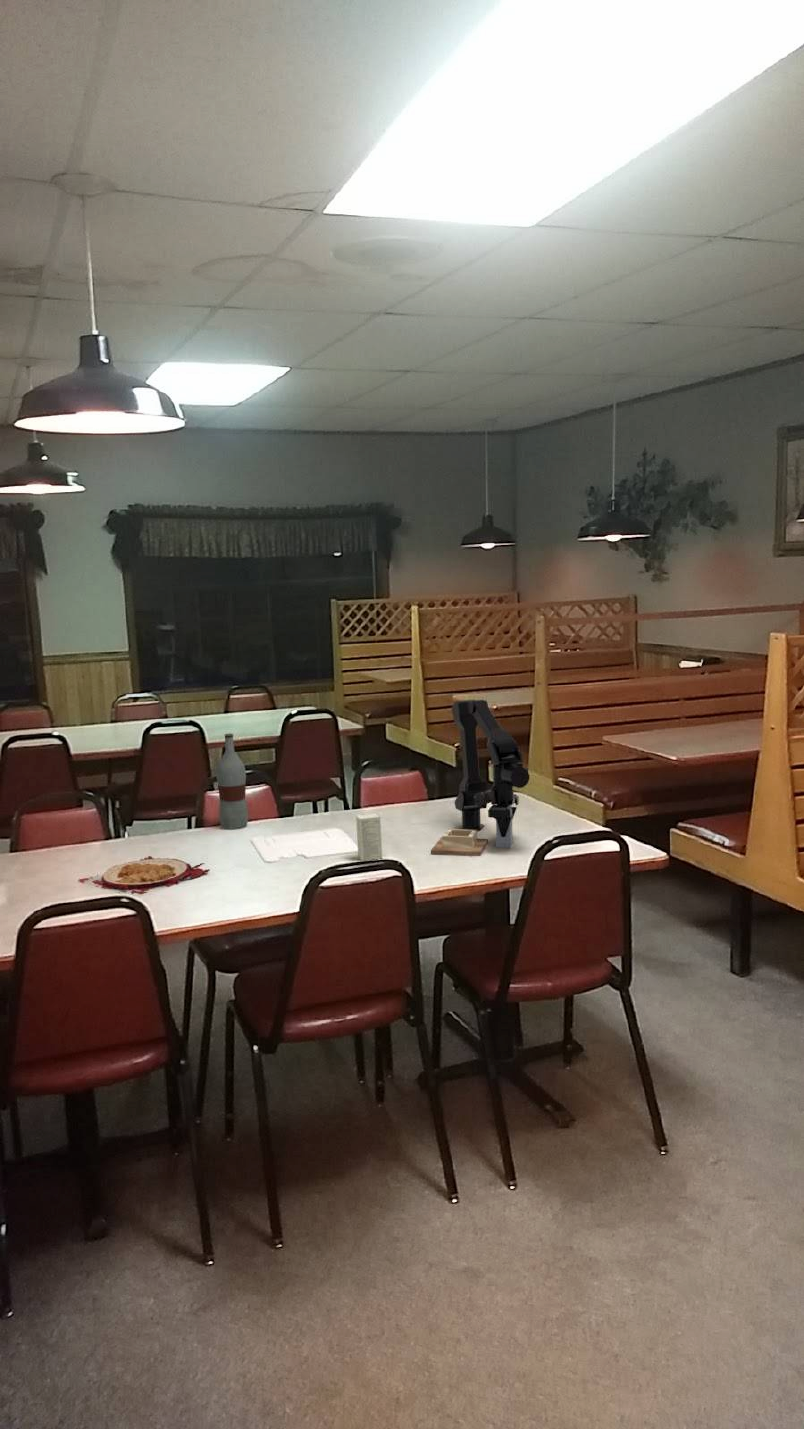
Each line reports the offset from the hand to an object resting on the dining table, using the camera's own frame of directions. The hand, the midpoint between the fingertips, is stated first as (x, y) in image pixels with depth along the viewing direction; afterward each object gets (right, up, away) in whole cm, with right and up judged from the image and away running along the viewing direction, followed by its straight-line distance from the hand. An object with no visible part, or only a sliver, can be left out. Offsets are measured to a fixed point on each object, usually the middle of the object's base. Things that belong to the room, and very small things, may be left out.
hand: (504, 834), depth 275 cm
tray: (-58, -5, +7) cm, 59 cm away
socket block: (-13, -4, -1) cm, 13 cm away
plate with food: (-98, -10, -19) cm, 100 cm away
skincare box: (-38, -6, -8) cm, 39 cm away
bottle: (-83, -2, +34) cm, 90 cm away
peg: (0, -3, 0) cm, 3 cm away
